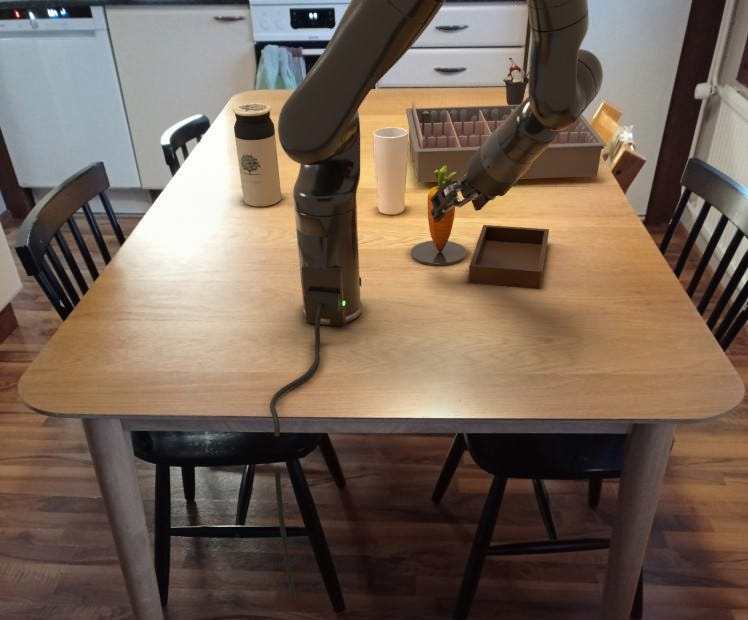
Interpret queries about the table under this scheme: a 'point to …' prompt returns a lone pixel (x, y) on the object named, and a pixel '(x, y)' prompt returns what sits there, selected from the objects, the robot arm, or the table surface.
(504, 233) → the tray
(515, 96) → the sundae
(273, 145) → the travel mug
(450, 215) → the carrot
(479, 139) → the organizer tray
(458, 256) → the metal coaster
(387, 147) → the drinking glass
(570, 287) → the table surface
